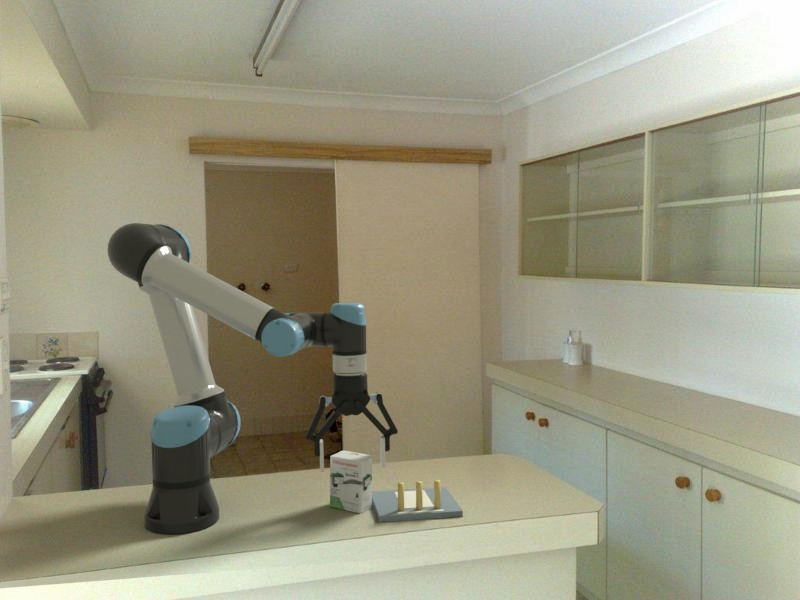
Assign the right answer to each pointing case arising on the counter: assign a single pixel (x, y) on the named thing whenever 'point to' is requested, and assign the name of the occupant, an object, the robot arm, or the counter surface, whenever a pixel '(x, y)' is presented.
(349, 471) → the ink box
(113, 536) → the counter surface
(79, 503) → the counter surface
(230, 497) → the counter surface
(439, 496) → the board
